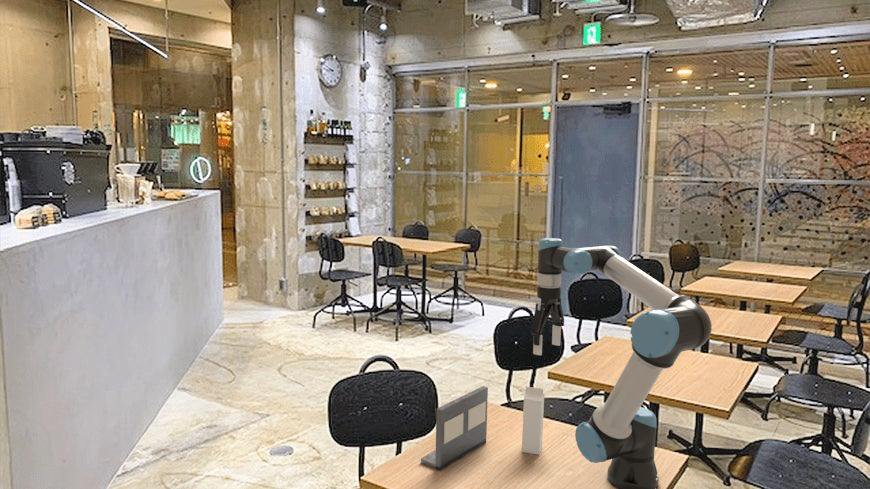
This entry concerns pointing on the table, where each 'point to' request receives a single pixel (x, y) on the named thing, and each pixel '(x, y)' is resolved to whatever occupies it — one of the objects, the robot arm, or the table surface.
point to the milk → (533, 420)
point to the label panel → (459, 428)
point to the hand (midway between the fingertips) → (547, 349)
